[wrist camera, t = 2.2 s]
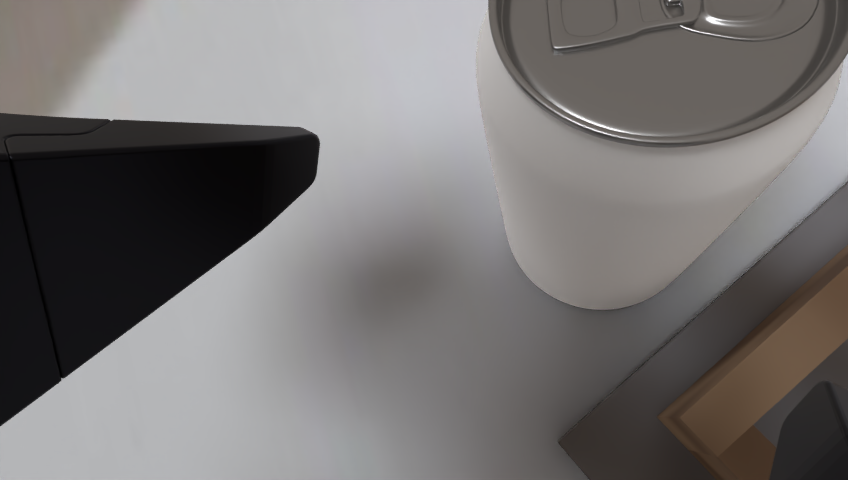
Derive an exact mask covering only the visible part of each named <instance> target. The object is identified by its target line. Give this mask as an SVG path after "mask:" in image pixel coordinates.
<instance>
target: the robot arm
mask: <svg viewBox="0 0 848 480" xmlns="http://www.w3.org/2000/svg"><path fill="white" fill-rule="evenodd" d="M319 148H320V141H319V138H318V136H317V135H316V134H314V133H312V132H310V131H308V130H306V129H304V128H301V127H285V126H260V125H235V124H210V123H185V122H160V121H135V120H112V121H110V120H108V119H87V118H67V117H49V116H34V115H20V114H6V113H0V426H1V425H3V424H4V423H5V422H7V421H8V420H10V419H11V418H12V417H14V416H15V415H16V414H18V413H19V412H20V411H22V410H23V409H24V408H26V407H27V406H28V405H30V404H31V403H32V402H34V401H35V400H36V399H38V398H39V397H40V396H42V395H43V394H44V393H46V392H47V391H48V390H50V389H51V388H52V387H54V386H55V385H56V384H58V383H59V382H60V381H61V378H65V377H67V376H68V375H69V374H71V373H72V372H73V371H75V370H76V369H77V368H79V367H80V366H81V365H83V364H84V363H85V362H87V361H88V360H89V359H91V358H92V357H93V356H95V355H96V354H98V353H99V352H100V351H102V350H103V349H104V348H106V347H107V346H108V345H110V344H111V343H112V342H114V341H115V340H116V339H118V338H119V337H120V336H122V335H123V334H124V333H126V332H127V331H128V330H130V329H131V328H132V327H134V326H135V325H136V324H138V323H139V322H140V321H142V320H143V319H145V318H146V317H147V316H149V315H150V314H151V313H153V312H154V311H155V310H157V309H158V308H159V307H161V306H162V305H163V304H165V303H166V302H167V301H169V300H170V299H171V298H173V297H174V296H175V295H177V294H178V293H179V292H181V291H182V290H183V289H185V288H186V287H187V286H189V285H190V284H192V283H193V282H194V281H196V280H197V279H198V278H200V277H201V276H202V275H204V274H205V273H206V272H208V271H209V270H210V269H212V268H213V267H214V266H216V265H217V264H218V263H220V262H221V261H222V260H224V259H225V258H226V257H228V256H229V255H230V254H232V253H233V252H234V251H236V250H237V249H239V248H240V247H241V246H243V245H244V244H245V243H247V242H248V241H249V240H251V239H252V238H253V237H255V236H256V235H257V234H258V233H260V232H261V231H262V230H263V229H264V228H265V227H267V226H268V225H269V224H270V223H271V222H272V221H273V220H274V219H275V218H276V217H278V216H279V215H280V214H281V213H282V212H283V211H284V210H285V209H286V208H287V207H288V206H289V205H291V204H292V203H293V202H294V201H295V200H296V199H297V198H298V197H299V196H300V195H301V194H302V193H303V192H305V191H306V190H307V189H308V188H309V187H310V186H311V185H312V183H313V182H314V180H315V177H316V174H317V165H318V157H319ZM769 480H848V389H846V388H844V387H842V386H840V385H838V384H836V383H834V382H832V381H829V380H823V381H820V382H819V383H817V384H816V385H815V386H814V387H813V388H812V389H811V390H810V391H809V392H808V393H807V394H806V396H805V397H804V398H803V399H802V400H801V401H800V402H799V403H798V404H797V405H796V407H795V408H794V409H793V410H792V411H791V412H790V413H789V414H788V416H787V417H786V419H785V420H784V422H783V424H782V427H781V430H780V434H779V438H778V443H777V447H776V451H775V456H774V460H773V464H772V469H771V473H770V478H769Z"/></svg>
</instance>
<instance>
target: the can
mask: <svg viewBox="0 0 848 480" xmlns="http://www.w3.org/2000/svg"><path fill="white" fill-rule="evenodd" d="M847 54H848V0H488V9H487V12H486V14H485V17H484V20H483V23H482V26H481V30H480V33H479V38H478V44H477V52H476V78H477V87H478V94H479V101H480V107H481V112H482V118H483V123H484V128H485V134H486V139H487V144H488V149H489V154H490V159H491V164H492V169H493V174H494V179H495V183H496V188H497V193H498V198H499V203H500V207H501V212H502V217H503V221H504V226H505V230H506V234H507V239H508V242H509V245H510V248H511V251H512V253H513V255H514V258H515V259H516V261H517V263H518V265H519V266H520V268H521V269H522V271H523V272H524V273H525V275H526V276H527V277H528V278H529V279H530V280H531V281H532V282H533V283H534V284H535V285H536V286H537V287H538V288H540V289H541V290H542V291H544V292H545V293H547V294H548V295H550V296H552V297H553V298H555V299H557V300H559V301H562V302H564V303H567V304H570V305H573V306H576V307H581V308H586V309H595V310H610V309H619V308H624V307H628V306H632V305H635V304H638V303H640V302H643V301H645V300H647V299H649V298H651V297H652V296H654V295H656V294H657V293H659V292H660V291H662V290H663V289H664V288H666V287H667V286H668V285H669V284H670V283H671V282H673V281H674V280H675V279H676V278H677V277H678V276H679V275H680V274H681V273H682V272H683V271H684V270H685V269H686V268H687V267H688V266H689V265H690V264H691V263H692V262H693V261H694V260H695V259H696V258H697V257H698V256H699V255H700V254H701V253H702V252H703V251H704V250H705V249H706V248H707V247H708V246H709V245H710V244H711V243H712V242H713V241H714V240H715V239H716V238H717V237H718V236H719V235H720V234H721V233H722V232H723V231H724V230H725V229H726V228H727V227H728V226H729V225H730V224H731V223H732V222H733V221H734V220H735V219H736V218H737V217H738V216H739V215H740V214H741V213H742V212H743V211H744V210H745V209H746V208H747V207H748V206H749V205H750V204H751V203H752V202H753V201H754V200H755V199H756V198H757V197H758V196H759V195H760V194H761V193H762V192H763V191H764V190H765V189H766V188H767V187H768V186H769V185H770V184H771V183H772V181H773V180H774V179H775V178H776V177H777V176H778V175H779V174H780V173H781V172H782V171H783V170H784V169H785V168H786V167H787V166H788V165H789V164H790V163H791V161H792V160H793V159H794V158H795V157H796V156H797V155H798V154H799V152H800V151H801V150H802V149H803V148H804V147H805V145H806V144H807V143H808V142H809V140H810V139H811V138H812V136H813V135H814V133H815V132H816V130H817V129H818V127H819V126H820V124H821V123H822V121H823V120H824V118H825V116H826V115H827V113H828V111H829V109H830V107H831V105H832V102H833V100H834V98H835V95H836V92H837V89H838V85H839V82H840V77H841V72H842V66H843V60H844V59H845V57H846V56H847Z"/></svg>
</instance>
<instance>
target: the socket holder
mask: <svg viewBox="0 0 848 480" xmlns="http://www.w3.org/2000/svg"><path fill="white" fill-rule="evenodd" d="M823 380H829V381H832V382H834V383H836V384H838V385H840V386H842V387H844V388H846V389H848V182H847V183H846V184H844V185H843V186H842V187H841V188H840V189H839V190H838V191H837V192H835V193H834V194H833V195H832V196H831V197H830V198H829V199H828V200H827V201H825V202H824V203H823V204H822V205H821V206H820V207H819V208H818V209H816V210H815V211H814V212H813V213H812V214H811V215H810V216H809V217H808V218H806V219H805V220H804V221H803V222H802V223H801V224H800V225H799V226H797V227H796V228H795V229H794V230H793V231H792V232H791V233H790V234H789V235H787V236H786V237H785V238H784V239H783V240H782V241H781V242H780V243H778V244H777V245H776V246H775V247H774V248H773V249H772V250H771V251H770V252H768V253H767V254H766V255H765V256H764V257H763V258H762V259H761V260H759V261H758V262H757V263H756V264H755V265H754V266H753V267H752V268H751V269H749V270H748V271H747V272H746V273H745V274H744V275H743V276H742V277H740V278H739V279H738V280H737V281H736V282H735V283H734V284H733V285H732V286H730V287H729V288H728V289H727V290H726V291H725V292H724V293H723V294H721V295H720V296H719V297H718V298H717V299H716V300H715V301H714V302H713V303H711V304H710V305H709V306H708V307H707V308H706V309H705V310H704V311H702V312H701V313H700V314H699V315H698V316H697V317H696V318H695V319H693V320H692V321H691V322H690V323H689V324H688V325H687V326H686V327H685V328H683V329H682V330H681V331H680V332H679V333H678V334H677V335H676V336H674V337H673V338H672V339H671V340H670V341H669V342H668V343H667V344H666V345H664V346H663V347H662V348H661V349H660V350H659V351H658V352H657V353H655V354H654V355H653V356H652V357H651V358H650V359H649V360H648V361H647V362H645V363H644V364H643V365H642V366H641V367H640V368H639V369H638V370H636V371H635V372H634V373H633V374H632V375H631V376H630V377H629V378H628V379H626V380H625V381H624V382H623V383H622V384H621V385H620V386H619V387H617V388H616V389H615V390H614V391H613V392H612V393H611V394H610V395H609V396H607V397H606V398H605V399H604V400H603V401H602V402H601V403H600V404H598V405H597V406H596V407H595V408H594V409H593V410H592V411H591V412H590V413H588V414H587V415H586V416H585V417H584V418H583V419H582V420H581V421H579V422H578V423H577V424H576V425H575V426H574V427H573V428H572V429H570V430H569V431H568V432H567V433H566V434H565V435H564V436H563V437H562V438H560V439H559V440H558V443H559V444H560V445H561V447H562V448H563V449H564V450H565V451H566V452H567V454H568V455H569V456H570V457H571V458H572V459H573V461H574V462H575V463H576V464H577V465H578V466H579V468H580V469H581V470H582V471H583V472H584V474H585V475H586V476H587V477H588V478H589V479H590V480H769V478H770V473H771V469H772V464H773V460H774V456H775V451H776V447H777V443H778V438H779V434H780V430H781V427H782V424H783V422H784V420H785V419H786V417H787V416H788V414H789V413H790V412H791V411H792V410H793V409H794V408H795V407H796V405H797V404H798V403H799V402H800V401H801V400H802V399H803V398H804V397H805V396H806V394H807V393H808V392H809V391H810V390H811V389H812V388H813V387H814V386H815V385H816V384H817V383H819V382H820V381H823Z"/></svg>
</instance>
